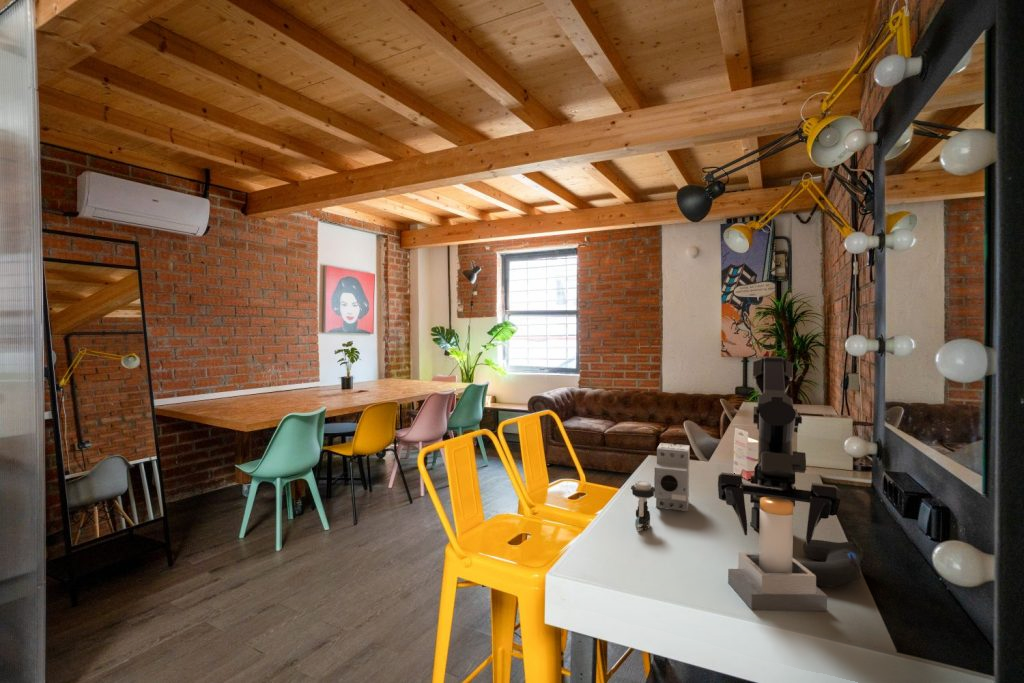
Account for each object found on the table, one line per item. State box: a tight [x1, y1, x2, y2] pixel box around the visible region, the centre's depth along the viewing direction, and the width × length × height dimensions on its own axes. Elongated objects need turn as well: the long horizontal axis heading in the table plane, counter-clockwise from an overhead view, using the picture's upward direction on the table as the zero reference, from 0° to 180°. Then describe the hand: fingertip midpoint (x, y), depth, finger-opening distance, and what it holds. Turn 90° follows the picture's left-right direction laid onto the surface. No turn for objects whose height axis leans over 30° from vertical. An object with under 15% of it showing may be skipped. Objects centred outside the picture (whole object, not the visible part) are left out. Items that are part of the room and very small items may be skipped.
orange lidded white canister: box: [758, 497, 794, 573], centre depth 86 cm, size 5×5×14 cm
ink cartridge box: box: [732, 427, 758, 481], centre depth 161 cm, size 9×5×15 cm, turn 5°
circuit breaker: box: [653, 442, 691, 512], centre depth 130 cm, size 8×14×15 cm, turn 158°
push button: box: [630, 480, 655, 532], centre depth 117 cm, size 7×5×10 cm
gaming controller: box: [799, 537, 864, 587], centre depth 95 cm, size 17×6×10 cm
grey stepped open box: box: [727, 552, 828, 612], centre depth 86 cm, size 12×9×6 cm
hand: (776, 539), depth 85 cm, fingers open, 9 cm apart
